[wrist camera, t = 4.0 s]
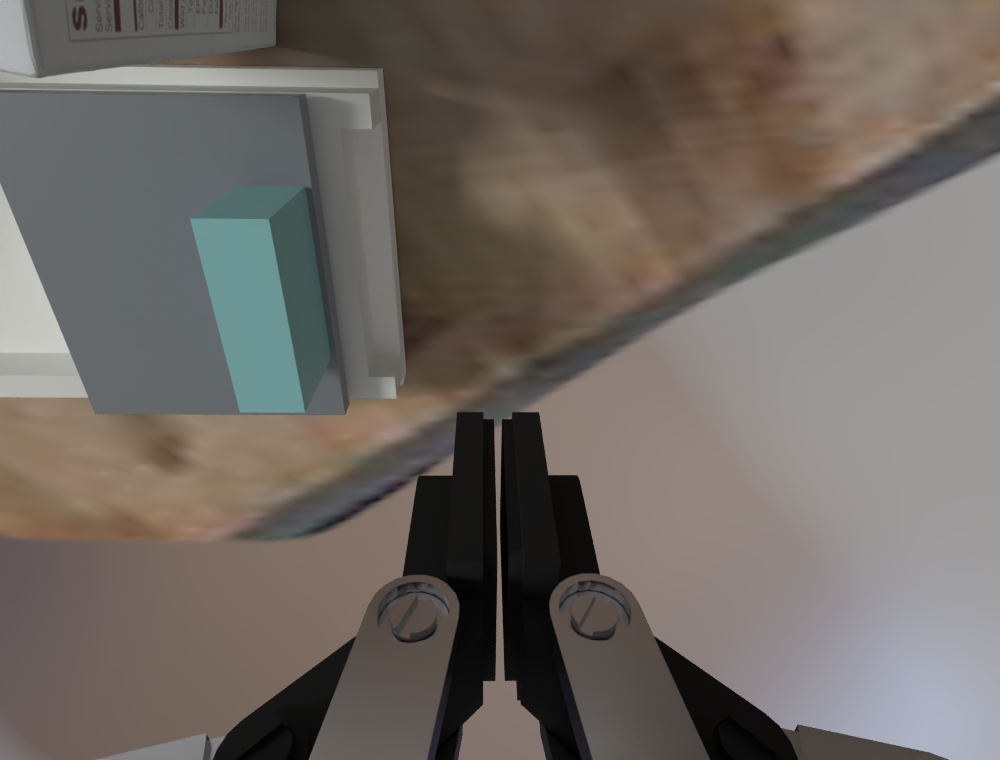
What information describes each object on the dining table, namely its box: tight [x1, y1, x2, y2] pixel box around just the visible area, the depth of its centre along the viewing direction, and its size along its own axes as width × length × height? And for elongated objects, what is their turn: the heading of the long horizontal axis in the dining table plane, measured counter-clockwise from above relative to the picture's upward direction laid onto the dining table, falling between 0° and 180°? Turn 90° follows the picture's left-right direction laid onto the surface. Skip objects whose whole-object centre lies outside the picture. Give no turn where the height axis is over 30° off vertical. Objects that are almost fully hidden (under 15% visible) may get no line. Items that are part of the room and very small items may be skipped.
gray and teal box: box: [0, 89, 349, 415], centre depth 18 cm, size 9×11×4 cm
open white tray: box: [0, 64, 406, 399], centre depth 22 cm, size 20×12×3 cm, turn 89°
